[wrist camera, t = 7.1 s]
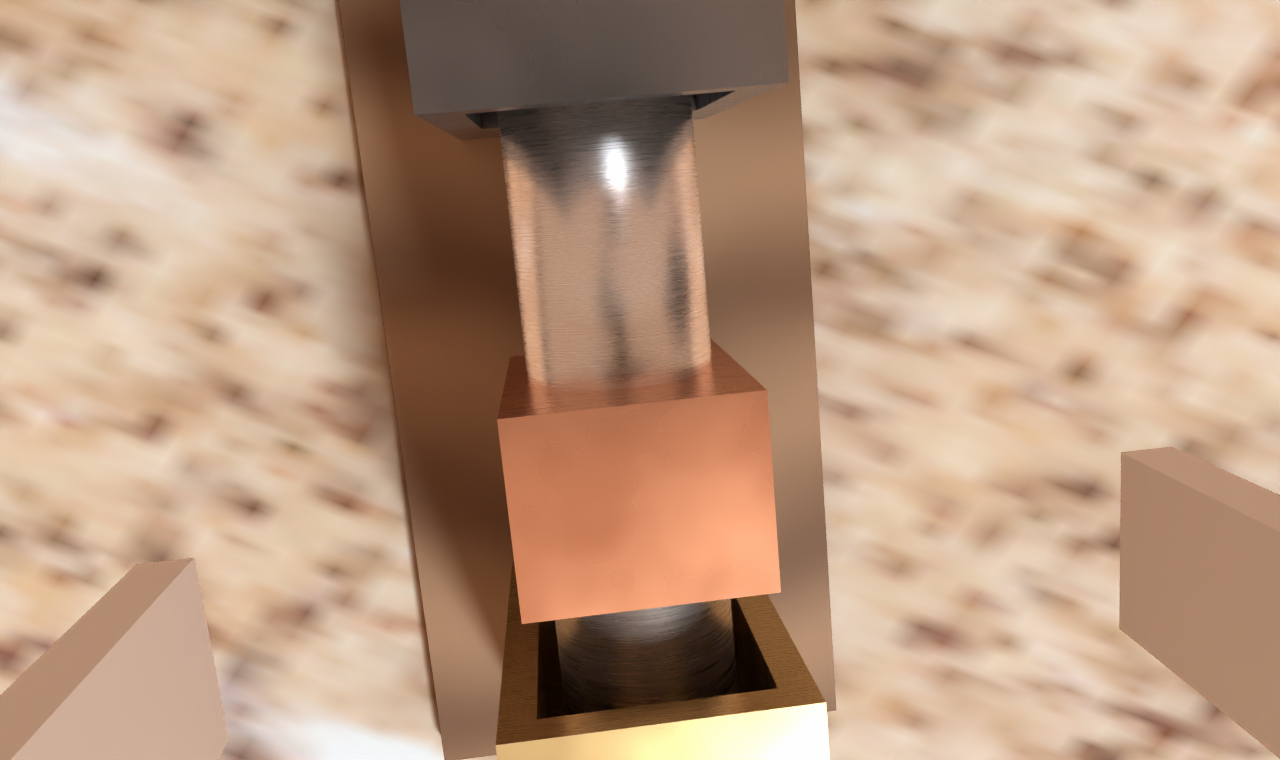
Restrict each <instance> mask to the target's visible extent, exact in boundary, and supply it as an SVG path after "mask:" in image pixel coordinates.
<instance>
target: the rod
mask: <svg viewBox="0 0 1280 760" xmlns="http://www.w3.org/2000/svg"><path fill="white" fill-rule="evenodd" d="M497 114H498V122H499V131H500V140H501V149H502V158H503V166H504V175H505V184H506V193H507V202H508V210H509V219H510V228H511V237H512V246H513V254H514V263H515V272H516V281H517V290H518V298H519V307H520V316H521V325H522V334H523V342H524V351H525V355H523V356H513V357H510V360H509V365H508V370H507V374H506V379H505V384H504V389H503V393H502V398H501V403H500V408H499V412H498V417H497V423H498V431H499V440H500V448H501V456H502V465H503V473H504V481H505V490H506V498H507V506H508V514H509V523H510V531H511V539H512V548H513V556H514V564H515V573H516V581H517V589H518V598H519V606H520V614H521V622H522V624H527V623H535V622H543V621H551V620H555V624H556V633H557V641H558V650H559V659H560V668H561V677H562V685H563V694H564V703H565V712H566V716H567V715H574V714H582V713H590V712H598V711H605V710H613V709H621V708H629V707H636V706H644V705H652V704H660V703H668V702H675V701H683V700H691V699H699V698H706V697H714V696H722V695H730V694H737V693H738V688H737V675H736V662H735V649H734V637H733V624H732V611H731V599H732V598H740V597H748V596H756V595H764V594H773V593H781V584H780V570H779V555H778V540H777V526H776V511H775V496H774V481H773V467H772V452H771V437H770V423H769V408H768V393H767V389H766V388H764V387H763V386H762V385H761V384H760V383H759V382H758V381H757V380H756V379H755V378H754V377H753V376H751V375H750V374H749V373H748V372H747V371H746V370H745V369H744V368H743V367H742V366H741V365H740V364H738V363H737V362H736V361H735V360H734V359H733V358H732V357H731V356H730V355H729V354H728V353H727V352H725V351H724V350H723V349H722V348H721V347H720V346H719V345H718V344H717V343H716V342H715V341H713V340H712V339H711V338H710V329H709V317H708V304H707V291H706V278H705V266H704V253H703V240H702V227H701V214H700V202H699V189H698V176H697V163H696V150H695V138H694V125H693V112H692V99H691V95H679V96H668V97H656V98H645V99H633V100H621V101H610V102H598V103H587V104H575V105H564V106H552V107H541V108H529V109H518V110H506V111H497Z"/></svg>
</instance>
